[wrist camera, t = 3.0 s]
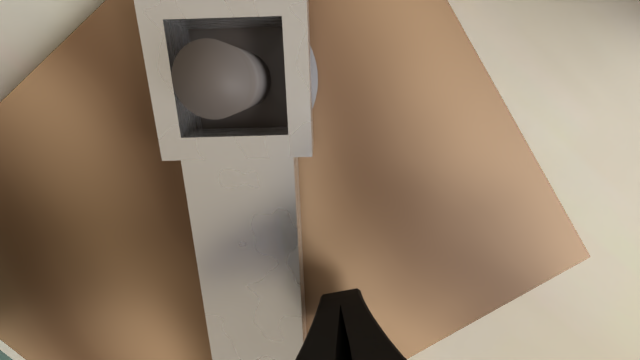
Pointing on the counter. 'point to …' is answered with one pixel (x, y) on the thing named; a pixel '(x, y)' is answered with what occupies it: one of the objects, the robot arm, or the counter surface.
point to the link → (239, 179)
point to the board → (314, 182)
